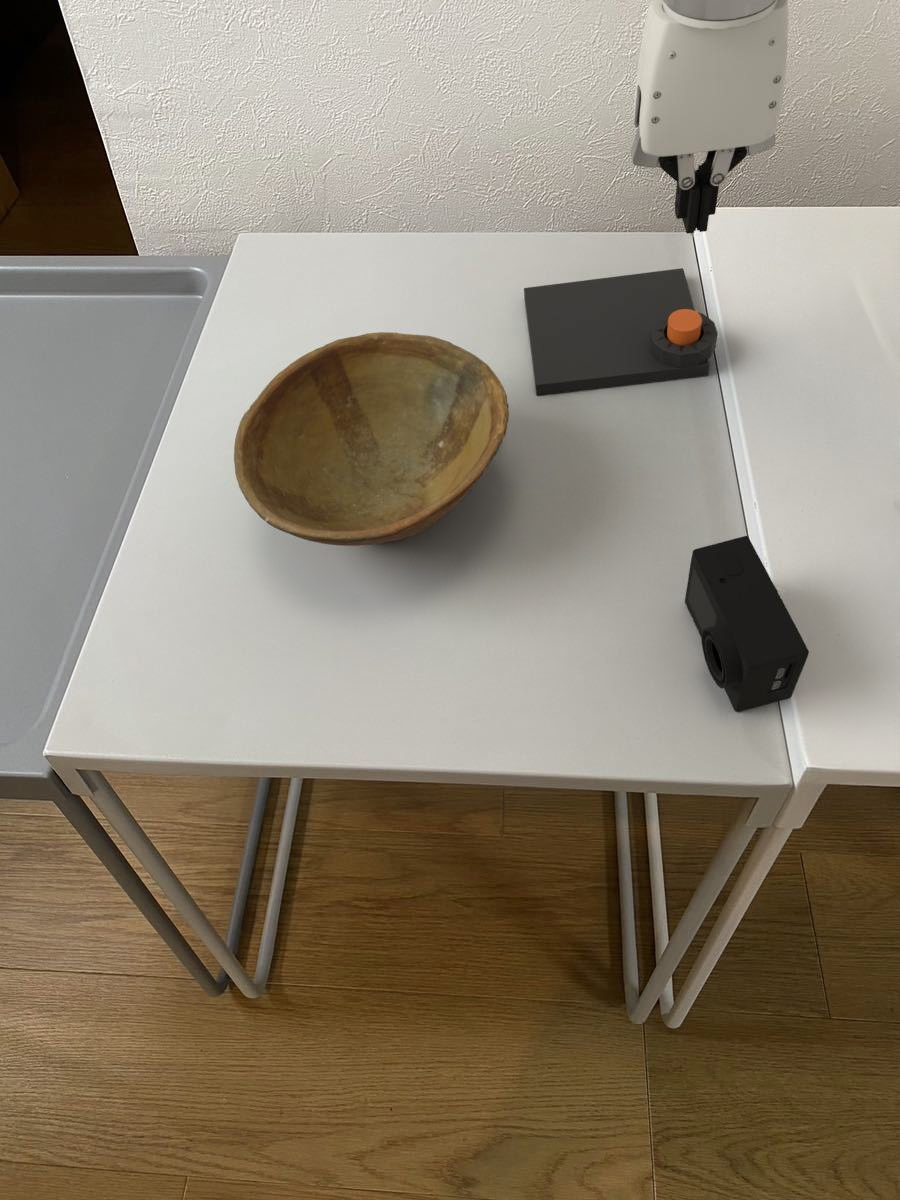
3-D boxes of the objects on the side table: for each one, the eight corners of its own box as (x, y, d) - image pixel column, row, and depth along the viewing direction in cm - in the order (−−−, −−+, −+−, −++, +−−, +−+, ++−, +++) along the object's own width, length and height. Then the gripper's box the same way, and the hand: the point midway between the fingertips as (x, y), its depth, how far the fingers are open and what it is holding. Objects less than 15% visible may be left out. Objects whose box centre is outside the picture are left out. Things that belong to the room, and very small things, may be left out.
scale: (691, 278, 94) (694, 252, 92) (718, 374, 86) (722, 350, 84) (524, 298, 95) (522, 274, 93) (536, 395, 88) (535, 372, 85)
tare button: (696, 322, 87) (698, 306, 85) (702, 343, 85) (704, 328, 84) (664, 325, 87) (665, 310, 86) (669, 347, 85) (671, 332, 84)
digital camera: (668, 603, 74) (675, 551, 68) (734, 586, 74) (747, 532, 68) (719, 717, 68) (731, 671, 62) (790, 698, 68) (809, 650, 62)
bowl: (564, 529, 79) (562, 449, 71) (320, 651, 75) (288, 581, 67) (447, 378, 90) (433, 294, 82) (231, 477, 87) (194, 399, 79)
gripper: (823, -65, 63) (775, 183, 78) (601, -33, 64) (596, 206, 79) (854, -12, 59) (796, 239, 74) (615, 22, 60) (607, 262, 75)
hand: (693, 221), depth 76 cm, fingers closed
